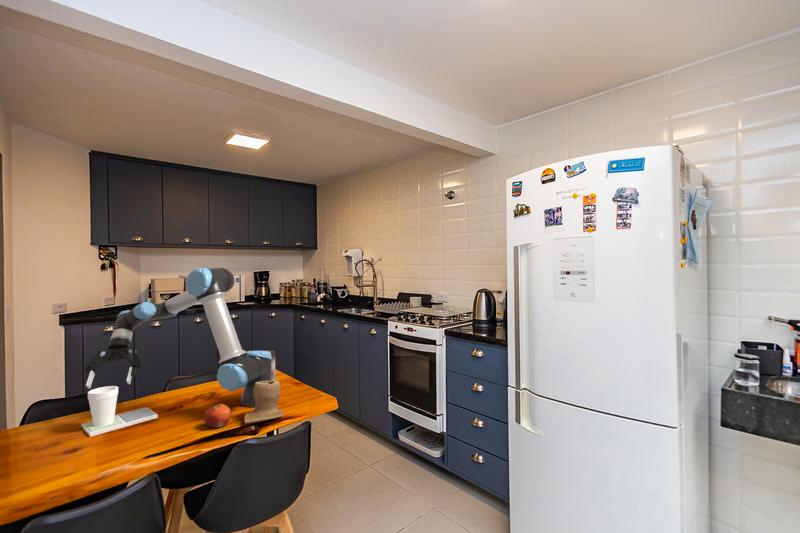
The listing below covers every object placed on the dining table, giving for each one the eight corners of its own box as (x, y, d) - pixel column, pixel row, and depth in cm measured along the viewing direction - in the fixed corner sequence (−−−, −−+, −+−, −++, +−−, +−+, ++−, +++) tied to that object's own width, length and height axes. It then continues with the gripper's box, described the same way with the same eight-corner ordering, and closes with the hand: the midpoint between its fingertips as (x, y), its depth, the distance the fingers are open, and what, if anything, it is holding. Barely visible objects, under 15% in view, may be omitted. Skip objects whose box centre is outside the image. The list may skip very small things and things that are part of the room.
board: (157, 417, 155) (157, 414, 155) (90, 436, 138) (90, 432, 138) (146, 409, 164) (146, 406, 164) (81, 426, 147) (81, 423, 147)
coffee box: (258, 384, 196) (258, 354, 196) (254, 382, 201) (254, 352, 201) (275, 381, 202) (275, 351, 202) (271, 378, 207) (271, 349, 207)
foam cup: (123, 420, 148) (122, 388, 148) (95, 429, 140) (94, 395, 140) (112, 416, 153) (111, 384, 153) (84, 424, 145) (83, 391, 145)
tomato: (235, 423, 147) (235, 403, 147) (212, 432, 139) (212, 411, 139) (222, 418, 152) (222, 399, 152) (199, 427, 145) (199, 406, 145)
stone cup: (280, 410, 161) (279, 375, 161) (285, 420, 150) (284, 382, 150) (242, 417, 154) (241, 380, 154) (244, 428, 143) (244, 389, 143)
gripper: (154, 343, 174) (146, 385, 159) (89, 348, 165) (73, 393, 151) (151, 334, 169) (142, 376, 154) (83, 339, 160) (67, 384, 146)
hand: (108, 384), depth 153 cm, fingers open, 13 cm apart
